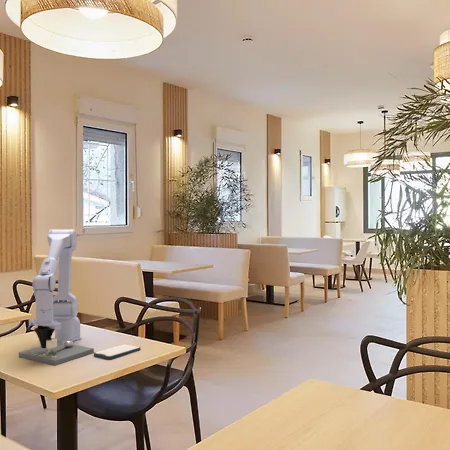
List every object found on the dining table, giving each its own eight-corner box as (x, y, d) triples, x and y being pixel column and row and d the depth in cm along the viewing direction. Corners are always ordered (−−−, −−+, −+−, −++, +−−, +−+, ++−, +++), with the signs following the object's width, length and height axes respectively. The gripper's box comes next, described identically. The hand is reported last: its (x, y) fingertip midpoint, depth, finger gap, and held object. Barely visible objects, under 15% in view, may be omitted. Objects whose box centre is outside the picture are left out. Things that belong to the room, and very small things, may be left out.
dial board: (58, 345, 186) (58, 341, 186) (93, 352, 176) (93, 348, 176) (18, 356, 171) (18, 352, 171) (55, 365, 161) (55, 360, 161)
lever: (66, 344, 180) (66, 331, 180) (75, 345, 179) (75, 332, 179) (40, 355, 166) (39, 341, 166) (48, 356, 165) (48, 342, 165)
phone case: (124, 347, 185) (91, 357, 172) (125, 343, 185) (91, 352, 171) (142, 351, 180) (109, 361, 167) (142, 347, 180) (109, 356, 167)
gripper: (21, 308, 171) (21, 347, 172) (48, 313, 164) (49, 353, 164) (38, 305, 177) (38, 342, 178) (65, 309, 170) (66, 348, 170)
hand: (45, 347), depth 171 cm, fingers closed
